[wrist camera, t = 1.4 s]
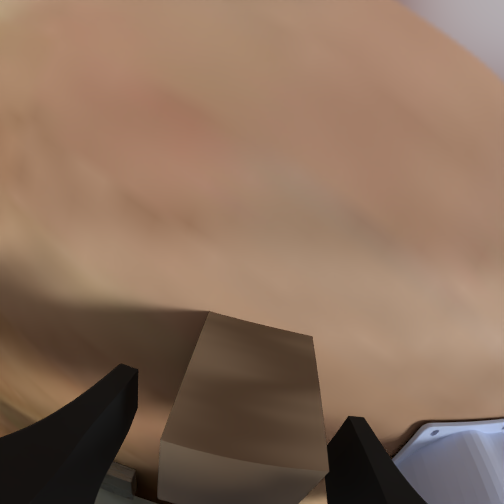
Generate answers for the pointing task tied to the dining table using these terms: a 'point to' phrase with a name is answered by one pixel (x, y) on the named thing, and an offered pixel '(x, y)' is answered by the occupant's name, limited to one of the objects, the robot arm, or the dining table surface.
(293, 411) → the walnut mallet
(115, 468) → the grey square block
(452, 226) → the dining table surface
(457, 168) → the dining table surface
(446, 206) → the dining table surface
